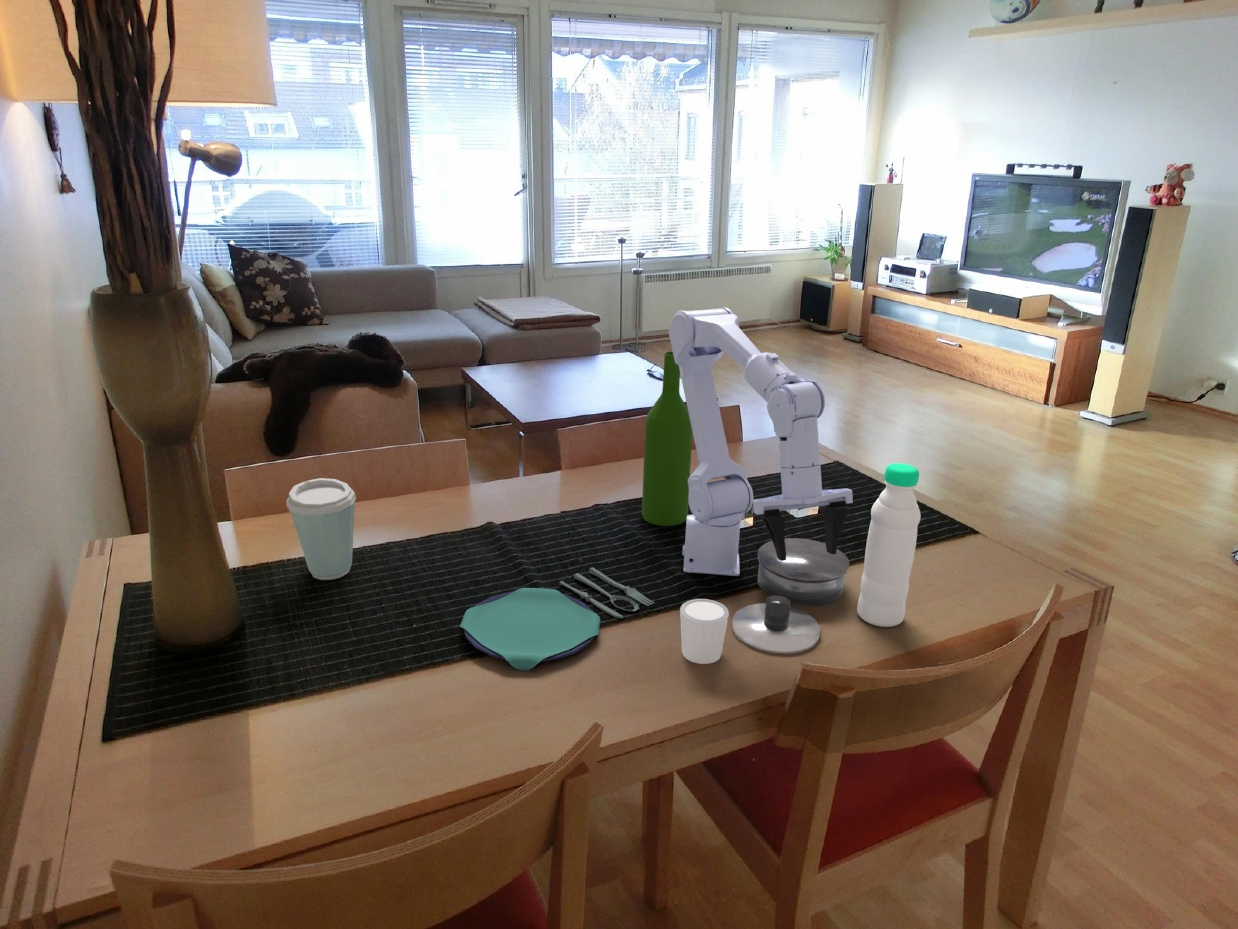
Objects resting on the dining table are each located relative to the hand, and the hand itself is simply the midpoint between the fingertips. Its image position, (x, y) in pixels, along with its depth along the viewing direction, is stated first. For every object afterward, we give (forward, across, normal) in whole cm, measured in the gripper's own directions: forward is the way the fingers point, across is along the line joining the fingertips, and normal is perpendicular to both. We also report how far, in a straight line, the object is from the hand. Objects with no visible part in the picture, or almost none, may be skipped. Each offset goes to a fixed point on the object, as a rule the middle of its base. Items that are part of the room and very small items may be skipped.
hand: (806, 556), depth 126 cm
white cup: (+12, -18, -3) cm, 21 cm away
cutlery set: (+7, -37, +8) cm, 39 cm away
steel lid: (+12, -5, +2) cm, 13 cm away
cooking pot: (+9, +4, +15) cm, 18 cm away
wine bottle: (0, -13, +43) cm, 45 cm away
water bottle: (+12, +12, +4) cm, 18 cm away
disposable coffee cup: (-1, -74, +25) cm, 78 cm away
